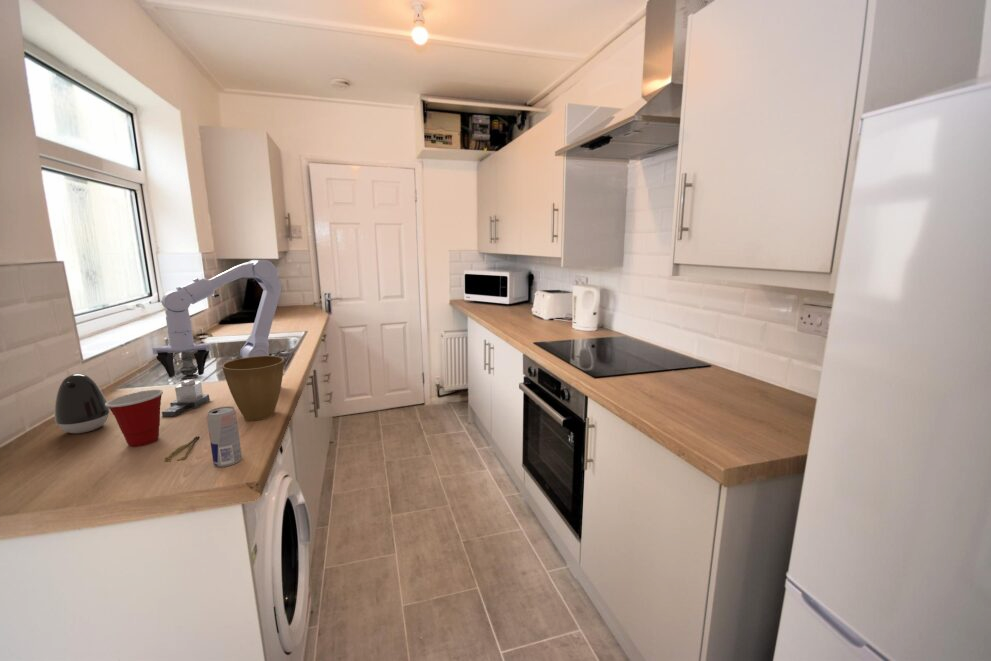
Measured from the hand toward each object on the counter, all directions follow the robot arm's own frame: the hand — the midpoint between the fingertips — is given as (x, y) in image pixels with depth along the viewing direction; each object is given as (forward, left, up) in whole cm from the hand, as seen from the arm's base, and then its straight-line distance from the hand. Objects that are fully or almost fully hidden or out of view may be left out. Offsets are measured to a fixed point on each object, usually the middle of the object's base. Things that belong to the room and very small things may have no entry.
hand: (186, 375), depth 126 cm
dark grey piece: (0, +3, -9) cm, 10 cm away
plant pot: (-26, +11, -10) cm, 30 cm away
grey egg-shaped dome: (+16, +17, -10) cm, 25 cm away
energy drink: (-32, +38, -10) cm, 51 cm away
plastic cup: (-5, +26, -10) cm, 28 cm away
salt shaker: (+20, -31, -10) cm, 38 cm away
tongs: (-18, +31, -10) cm, 37 cm away
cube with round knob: (0, 0, -7) cm, 7 cm away
